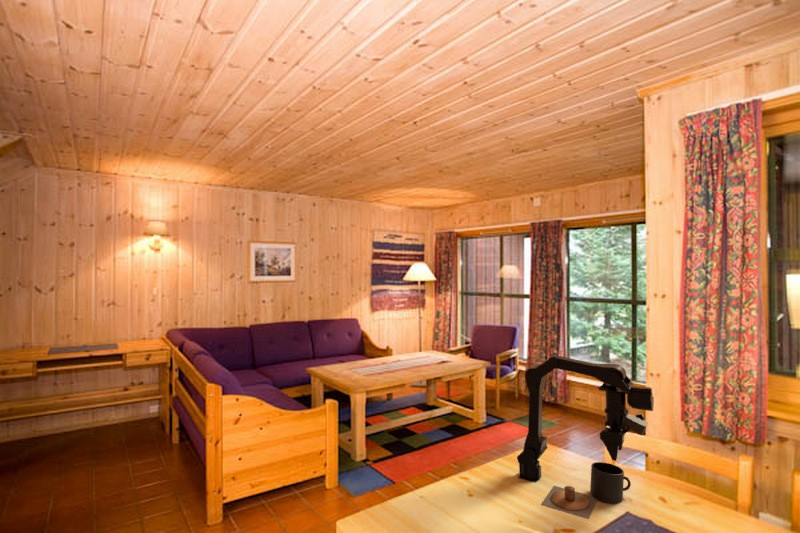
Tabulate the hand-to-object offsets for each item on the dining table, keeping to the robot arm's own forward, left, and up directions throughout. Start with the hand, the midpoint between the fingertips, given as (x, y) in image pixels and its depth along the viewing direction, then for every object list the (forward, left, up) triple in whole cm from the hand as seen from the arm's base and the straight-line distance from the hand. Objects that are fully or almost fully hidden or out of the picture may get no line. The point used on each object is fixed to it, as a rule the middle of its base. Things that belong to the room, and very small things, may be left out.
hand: (617, 455), depth 138 cm
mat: (-12, -9, -15) cm, 21 cm away
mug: (-2, +1, -15) cm, 15 cm away
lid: (-12, -9, -14) cm, 21 cm away
